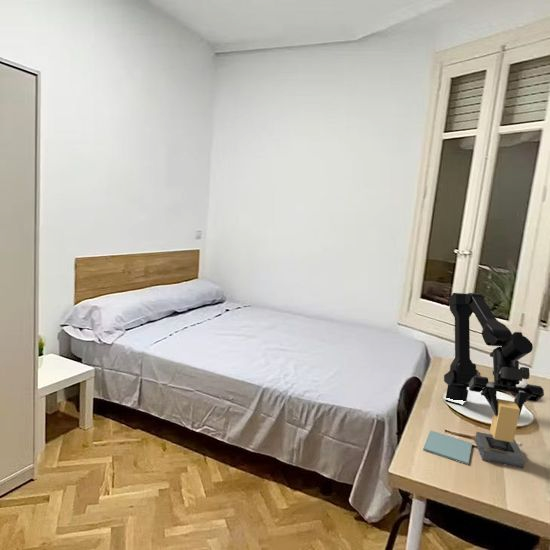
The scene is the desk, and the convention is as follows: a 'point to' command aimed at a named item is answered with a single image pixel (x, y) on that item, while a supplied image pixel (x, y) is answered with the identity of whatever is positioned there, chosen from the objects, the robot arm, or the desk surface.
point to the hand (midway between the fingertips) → (507, 417)
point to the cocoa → (521, 383)
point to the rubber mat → (448, 447)
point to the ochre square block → (505, 421)
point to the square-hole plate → (499, 456)
